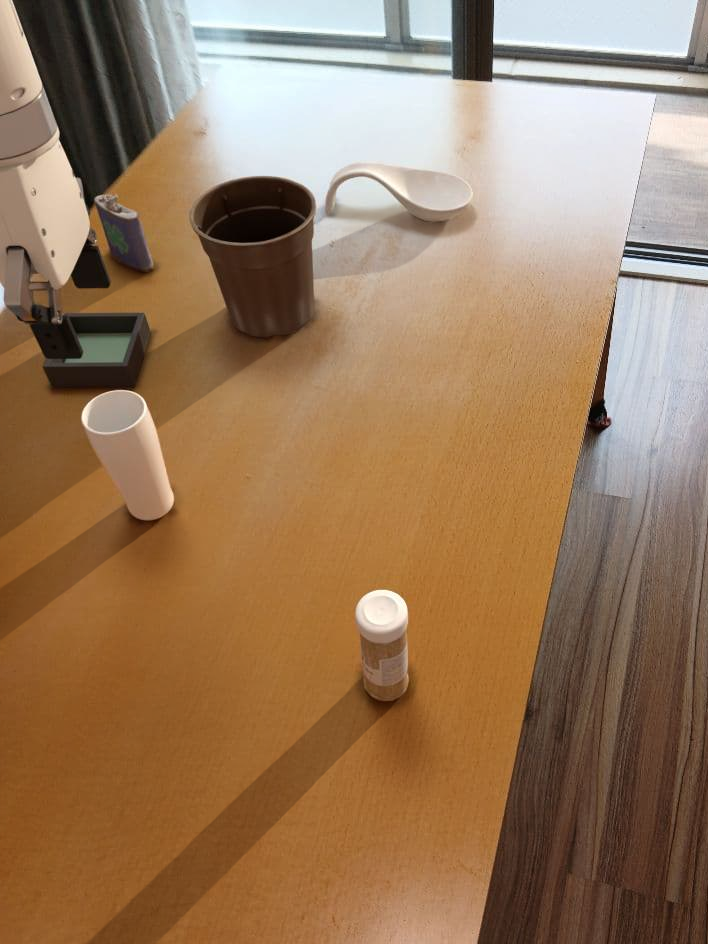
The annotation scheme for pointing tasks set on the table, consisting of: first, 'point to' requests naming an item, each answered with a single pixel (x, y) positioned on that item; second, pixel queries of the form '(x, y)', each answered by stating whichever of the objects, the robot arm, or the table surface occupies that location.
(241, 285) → the plant pot
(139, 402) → the white tapered cylinder
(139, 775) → the table surface
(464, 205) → the spoon rest
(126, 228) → the flask
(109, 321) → the cup holder
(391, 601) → the sprinkles bottle
